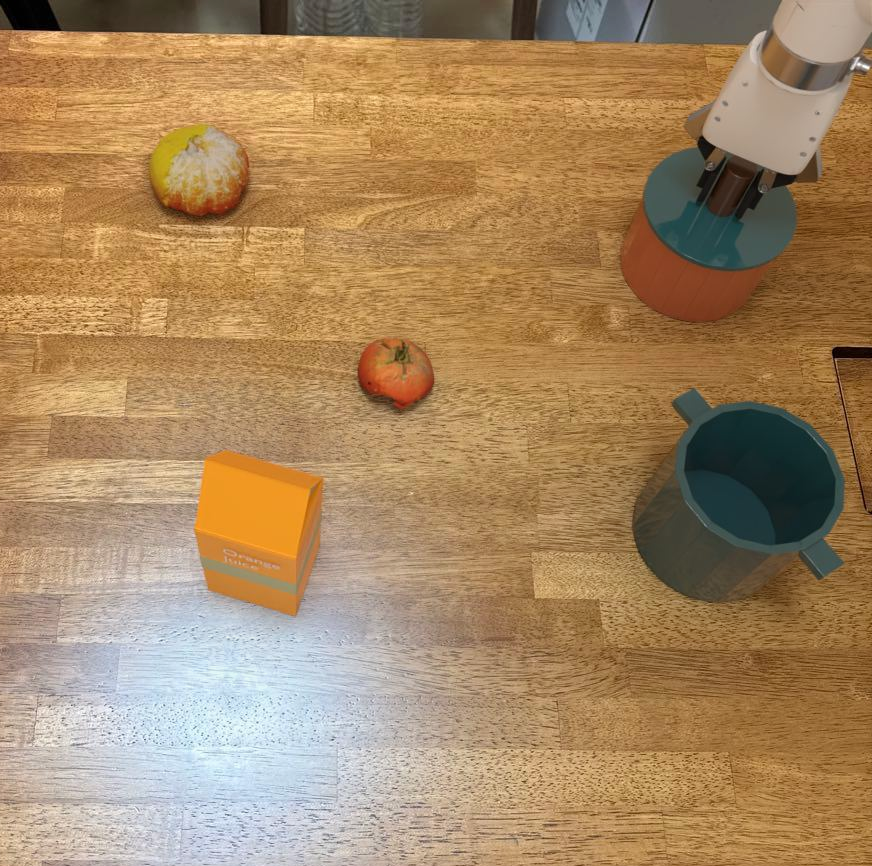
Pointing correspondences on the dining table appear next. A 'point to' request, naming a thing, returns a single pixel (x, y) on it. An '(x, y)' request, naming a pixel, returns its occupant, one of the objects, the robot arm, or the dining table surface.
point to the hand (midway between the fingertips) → (723, 199)
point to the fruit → (199, 170)
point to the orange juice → (258, 529)
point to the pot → (739, 501)
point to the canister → (681, 278)
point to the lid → (717, 213)
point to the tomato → (396, 371)
